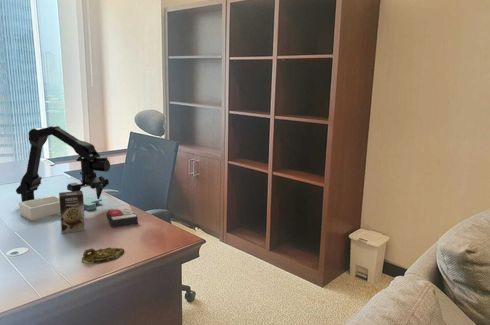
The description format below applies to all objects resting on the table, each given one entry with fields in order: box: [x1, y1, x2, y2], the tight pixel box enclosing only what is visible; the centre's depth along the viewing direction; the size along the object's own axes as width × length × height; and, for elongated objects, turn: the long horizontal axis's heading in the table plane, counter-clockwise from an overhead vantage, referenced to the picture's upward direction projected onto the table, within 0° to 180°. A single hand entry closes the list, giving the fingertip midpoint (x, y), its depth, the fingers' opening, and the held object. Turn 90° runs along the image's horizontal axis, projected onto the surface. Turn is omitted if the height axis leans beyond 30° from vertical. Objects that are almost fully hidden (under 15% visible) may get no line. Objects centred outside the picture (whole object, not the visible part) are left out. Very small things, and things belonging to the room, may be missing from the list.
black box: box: [106, 207, 139, 229], centre depth 171 cm, size 11×4×15 cm
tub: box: [18, 195, 60, 222], centre depth 176 cm, size 12×16×6 cm
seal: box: [81, 246, 125, 264], centre depth 136 cm, size 9×5×15 cm
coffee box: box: [58, 190, 86, 234], centre depth 158 cm, size 9×6×16 cm
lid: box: [83, 195, 103, 211], centre depth 188 cm, size 17×16×2 cm
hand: (89, 201), depth 184 cm, fingers open, 9 cm apart
